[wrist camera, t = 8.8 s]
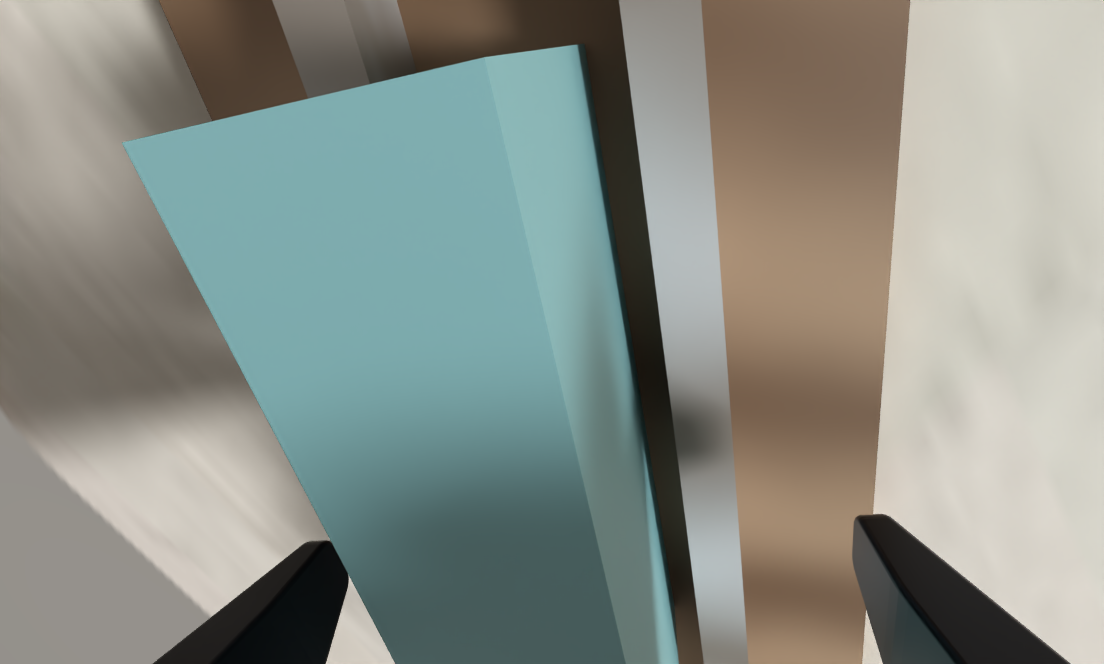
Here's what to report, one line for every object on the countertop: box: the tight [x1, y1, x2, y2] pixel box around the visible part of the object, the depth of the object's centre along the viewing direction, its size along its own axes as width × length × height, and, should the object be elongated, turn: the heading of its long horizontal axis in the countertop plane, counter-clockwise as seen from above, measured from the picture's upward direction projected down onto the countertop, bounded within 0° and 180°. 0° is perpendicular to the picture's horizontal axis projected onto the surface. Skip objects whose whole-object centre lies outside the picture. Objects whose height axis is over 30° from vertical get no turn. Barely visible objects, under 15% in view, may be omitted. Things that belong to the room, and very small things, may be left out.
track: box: [159, 0, 910, 664], centre depth 12 cm, size 22×12×3 cm, turn 12°
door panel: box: [122, 44, 679, 664], centre depth 9 cm, size 14×2×7 cm, turn 12°
